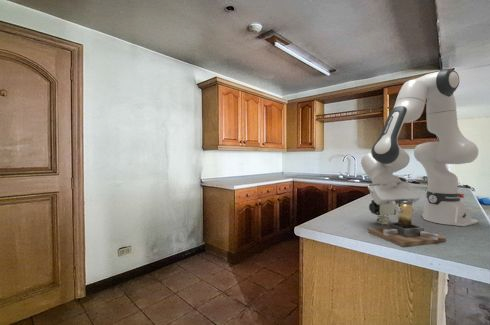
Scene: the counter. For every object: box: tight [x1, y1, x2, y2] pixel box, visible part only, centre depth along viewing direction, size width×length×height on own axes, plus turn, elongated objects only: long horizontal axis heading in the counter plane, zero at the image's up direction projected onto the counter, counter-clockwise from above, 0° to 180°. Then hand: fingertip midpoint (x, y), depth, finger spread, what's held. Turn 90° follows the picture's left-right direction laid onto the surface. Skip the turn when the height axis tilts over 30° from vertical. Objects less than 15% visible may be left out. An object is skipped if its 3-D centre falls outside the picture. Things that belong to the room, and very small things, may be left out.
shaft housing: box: [368, 221, 447, 248], centre depth 91 cm, size 20×17×4 cm
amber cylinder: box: [397, 200, 413, 225], centre depth 91 cm, size 4×4×9 cm
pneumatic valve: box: [368, 199, 398, 226], centre depth 109 cm, size 6×12×12 cm, turn 98°
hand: (406, 211), depth 90 cm, fingers closed on amber cylinder, 4 cm apart
